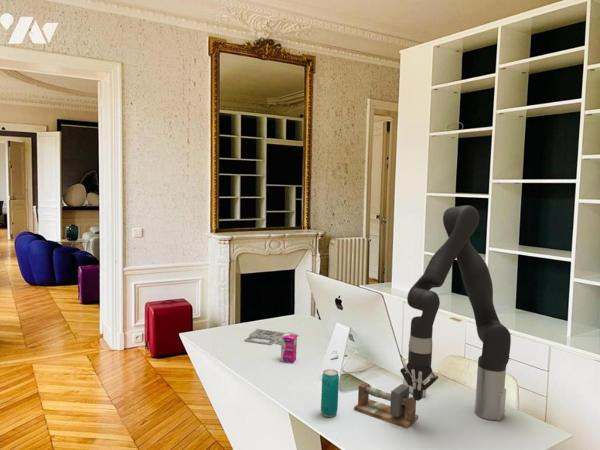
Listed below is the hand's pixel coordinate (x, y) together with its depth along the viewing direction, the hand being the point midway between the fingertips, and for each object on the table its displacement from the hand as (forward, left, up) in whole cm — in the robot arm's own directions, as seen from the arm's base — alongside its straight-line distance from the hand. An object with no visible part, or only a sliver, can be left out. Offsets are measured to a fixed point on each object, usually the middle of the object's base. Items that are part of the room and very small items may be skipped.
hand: (417, 399), depth 165 cm
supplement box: (+68, -18, -9) cm, 71 cm away
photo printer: (+11, -24, -9) cm, 28 cm away
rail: (+11, 0, -9) cm, 14 cm away
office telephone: (+94, -37, -10) cm, 102 cm away
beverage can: (+26, +13, -9) cm, 31 cm away
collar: (+6, 0, -6) cm, 9 cm away
